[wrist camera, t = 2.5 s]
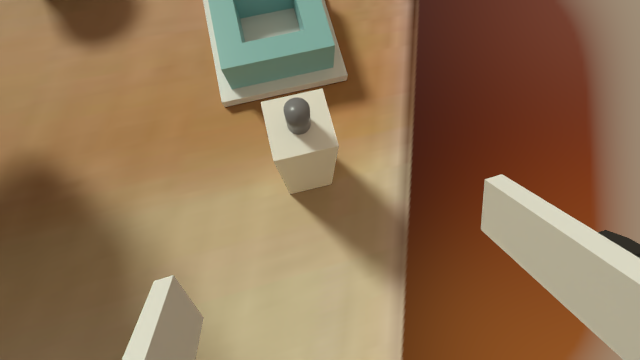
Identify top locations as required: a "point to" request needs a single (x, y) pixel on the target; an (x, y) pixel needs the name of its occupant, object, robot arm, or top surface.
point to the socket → (272, 47)
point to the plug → (301, 139)
